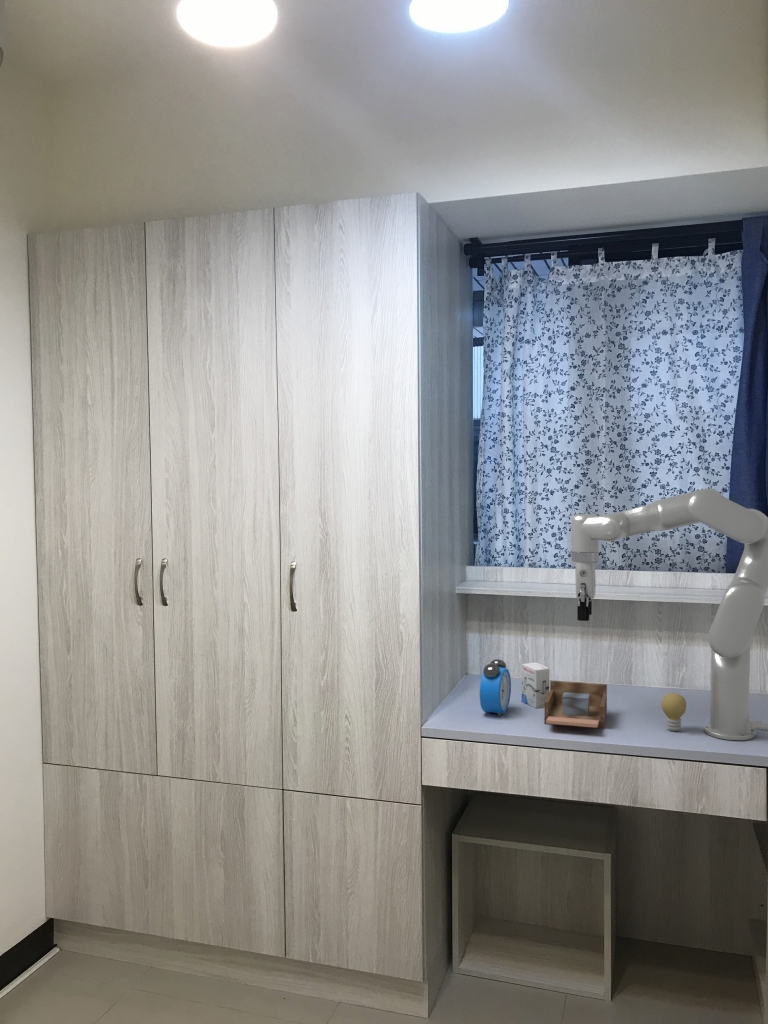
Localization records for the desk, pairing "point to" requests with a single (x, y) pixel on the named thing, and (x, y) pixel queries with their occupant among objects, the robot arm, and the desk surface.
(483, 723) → the desk surface
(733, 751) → the desk surface
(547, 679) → the ink box
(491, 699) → the alarm clock
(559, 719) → the panel
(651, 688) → the desk surface
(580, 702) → the blue gray block
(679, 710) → the light bulb
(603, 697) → the brown open box
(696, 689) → the desk surface
